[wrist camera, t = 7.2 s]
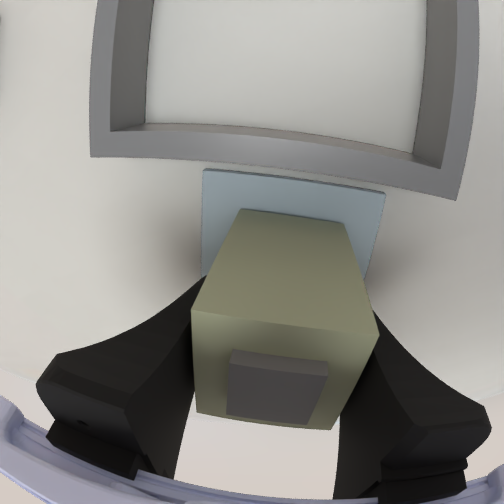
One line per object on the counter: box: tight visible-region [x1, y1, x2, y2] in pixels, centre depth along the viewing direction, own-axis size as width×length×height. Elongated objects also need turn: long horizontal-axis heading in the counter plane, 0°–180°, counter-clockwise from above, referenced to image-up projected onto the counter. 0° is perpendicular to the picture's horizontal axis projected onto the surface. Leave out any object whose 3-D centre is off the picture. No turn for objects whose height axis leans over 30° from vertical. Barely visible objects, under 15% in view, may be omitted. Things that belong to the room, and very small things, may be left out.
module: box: [191, 209, 379, 430], centre depth 11 cm, size 4×4×8 cm
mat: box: [201, 168, 386, 281], centre depth 15 cm, size 8×8×1 cm
